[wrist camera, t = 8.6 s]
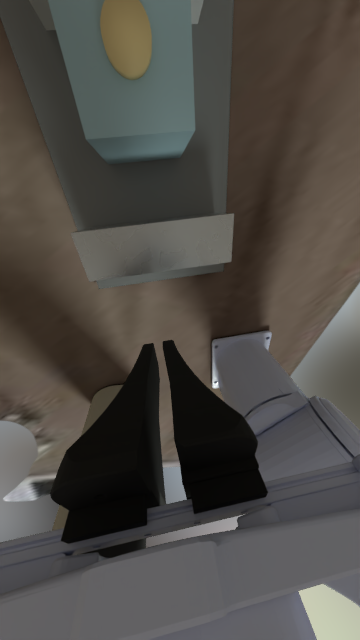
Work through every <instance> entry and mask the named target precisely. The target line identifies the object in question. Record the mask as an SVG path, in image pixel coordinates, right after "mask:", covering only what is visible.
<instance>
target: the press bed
mask: <svg viewBox="0 0 360 640" xmlns="http://www.w3.org/2000/svg"><path fill="white" fill-rule="evenodd" d="M233 6H234V0H191V22H192V50H193V78H194V106H195V132H194V134H193V135H192V137H191V139H190V141H189V143H188V144H187V146H186V148H185V150H184V152H183V153H182V155H181V157H180V158H171V159H160V160H150V161H139V162H129V163H118V164H108V163H107V162H106V161H105V160H104V159H103V158H102V157H101V156H100V155H99V153H98V152H97V151H96V150H95V149H94V148H93V147H92V146H91V145H90V143H89V142H88V141H87V140H86V138H85V134H84V131H83V127H82V123H81V120H80V116H79V112H78V109H77V105H76V101H75V98H74V94H73V91H72V87H71V83H70V80H69V76H68V72H67V69H66V65H65V61H64V58H63V54H62V50H61V47H60V43H59V40H58V36H57V32H56V29H55V25H54V21H53V18H52V14H51V10H50V7H49V3H48V0H0V18H1V21H2V23H3V26H4V29H5V32H6V34H7V37H8V40H9V43H10V45H11V48H12V51H13V54H14V56H15V59H16V62H17V65H18V67H19V70H20V73H21V76H22V78H23V81H24V84H25V87H26V89H27V92H28V95H29V98H30V100H31V103H32V106H33V109H34V111H35V114H36V117H37V120H38V122H39V125H40V128H41V131H42V133H43V136H44V139H45V142H46V144H47V147H48V150H49V153H50V155H51V158H52V161H53V164H54V166H55V169H56V172H57V175H58V177H59V180H60V183H61V186H62V188H63V191H64V194H65V196H66V199H67V202H68V205H69V207H70V210H71V213H72V216H73V218H74V221H75V224H76V227H77V229H78V231H80V230H83V229H87V228H91V227H100V226H108V225H116V224H125V223H133V222H142V221H150V220H159V219H167V218H176V217H184V216H192V215H201V214H209V213H226V199H227V171H228V144H229V116H230V89H231V61H232V34H233ZM222 271H224V263H220V264H213V265H206V266H198V267H191V268H184V269H177V270H170V271H162V272H155V273H148V274H141V275H133V276H126V277H119V278H112V279H105V280H97V281H96V282H97V284H98V287H99V289H102V288H109V287H116V286H123V285H130V284H137V283H144V282H151V281H158V280H165V279H172V278H179V277H186V276H193V275H200V274H207V273H215V272H222Z"/></svg>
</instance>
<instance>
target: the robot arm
mask: <svg viewBox="0 0 360 640" xmlns="http://www.w3.org/2000/svg"><path fill="white" fill-rule="evenodd" d="M271 335H272V333H271V332H270V331H262V332H256V333H250V334H244V335H238V336H232V337H226V338H220V339H215V340H213V341H212V387H213V388H220V391H221V394H222V396H223V399H224V401H225V402H224V401H222V400H221V399H220V398H219V397H218V396H216V395H215V394H214V393H213V392H212V391H211V390H210V389H209V388H207V387H206V386H205V385H204V384H203V383H202V382H201V381H200V380H199V378H198V377H197V376H196V375H195V374H194V373H193V372H192V370H191V369H190V368H189V367H188V365H187V364H186V363H185V361H184V360H183V358H182V357H181V355H180V354H179V352H178V350H177V348H176V346H175V344H174V341H173V340H168V341H163V351H164V356H165V361H166V366H167V371H168V376H169V381H170V389H171V400H172V412H173V426H174V440H175V444H176V448H177V452H178V457H179V461H180V466H181V475H182V483H183V485H184V489H185V492H186V497H187V500H183V501H179V502H175V503H171V504H166V501H165V491H164V490H165V489H164V478H163V467H162V455H161V441H160V427H159V383H160V378H159V367H158V361H157V357H156V353H155V348H154V344H153V343H150V344H144V345H143V347H142V350H141V352H140V355H139V357H138V359H137V361H136V363H135V365H134V367H133V369H132V371H131V373H130V375H129V376H128V378H127V380H126V382H125V383H124V385H123V386H122V388H121V389H120V391H119V392H118V394H117V395H116V396H115V398H114V399H113V400H112V402H111V403H110V404H109V406H108V407H107V408H106V409H105V411H104V412H103V413H102V414H101V415H100V416H99V418H98V419H97V420H96V421H95V422H94V423H93V424H92V426H91V427H90V428H89V429H88V430H87V431H86V432H85V433H84V434H83V435H82V436H81V437H80V438H79V439H78V440H77V441H76V442H75V443H74V444H73V445H72V446H71V447H70V448H69V449H68V450H67V451H66V453H65V456H64V458H63V460H62V462H61V464H60V467H59V470H58V472H57V475H56V478H55V481H54V484H53V487H52V489H51V492H50V495H51V498H52V500H53V501H55V502H56V503H57V504H59V505H61V506H62V507H64V508H66V509H67V510H69V512H68V516H67V519H66V523H65V527H64V528H62V529H57V530H53V531H49V532H44V533H40V534H35V535H31V536H27V537H23V538H19V539H14V540H9V541H5V542H1V543H0V640H317V639H316V636H315V633H314V631H313V628H312V626H311V623H310V621H309V618H308V616H307V613H306V610H305V608H304V605H303V603H302V600H301V597H300V595H299V592H298V591H300V590H303V589H306V588H310V587H313V586H316V585H320V584H324V585H326V586H328V587H330V588H331V589H333V590H335V591H337V592H338V593H340V594H342V595H344V596H345V597H347V598H348V599H350V600H351V601H353V602H354V603H356V604H357V605H358V606H359V607H360V430H359V429H358V428H357V427H356V426H355V425H354V424H353V423H352V422H351V421H350V420H349V419H348V418H347V417H346V416H345V415H344V414H343V413H342V412H341V411H340V410H339V409H338V408H337V407H336V406H335V405H334V404H332V403H331V402H330V401H329V400H327V399H324V398H319V397H317V396H313V397H311V398H310V399H309V398H308V397H307V396H306V395H305V394H304V393H303V392H302V390H301V389H300V388H299V387H298V386H297V384H296V383H295V382H294V381H293V380H292V379H291V377H290V376H289V375H288V374H287V373H286V371H285V370H284V369H283V368H282V367H281V365H280V364H279V363H278V362H277V361H276V360H275V358H274V357H273V356H272V355H271V354H270V352H269V351H268V349H269V344H270V340H271ZM266 337H267V338H266ZM216 345H217V346H216ZM215 346H216V347H215ZM247 513H248V514H247ZM243 514H245V515H243ZM239 515H243V516H240V517H238V519H237V522H238V527H237V528H236V529H235V530H231V531H225V532H219V533H213V534H207V535H202V536H197V537H191V538H187V539H182V540H177V541H173V542H168V543H164V544H160V545H156V546H152V547H148V548H144V549H140V550H137V551H133V552H129V553H126V554H122V555H119V556H116V557H113V558H105V557H102V556H100V555H99V553H98V552H96V553H88V554H81V553H85V552H90V551H94V550H98V549H102V548H106V547H110V546H114V545H119V544H123V543H127V542H131V541H135V540H139V539H144V538H148V537H152V536H156V535H160V534H164V533H168V532H173V531H177V530H181V529H185V528H189V527H193V526H197V525H201V524H206V523H210V522H214V521H218V520H222V519H227V518H231V517H235V516H239ZM77 554H79V555H77Z"/></svg>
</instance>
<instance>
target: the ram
mask: <svg viewBox="0 0 360 640" xmlns="http://www.w3.org/2000/svg"><path fill="white" fill-rule="evenodd" d="M233 225H234V213H209V214H201V215H192V216H184V217H176V218H167V219H159V220H150V221H142V222H133V223H125V224H116V225H108V226H100V227H91V228H87V229H83V230H80V231H76V232H72V233H71V235H72V238H73V241H74V243H75V246H76V248H77V251H78V254H79V256H80V259H81V261H82V264H83V267H84V269H85V272H86V274H87V277H88V279H89V282H90V281H97V280H105V279H112V278H119V277H126V276H133V275H141V274H148V273H155V272H162V271H170V270H177V269H184V268H191V267H198V266H206V265H213V264H220V263H227V262H231V260H232V242H233Z"/></svg>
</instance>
